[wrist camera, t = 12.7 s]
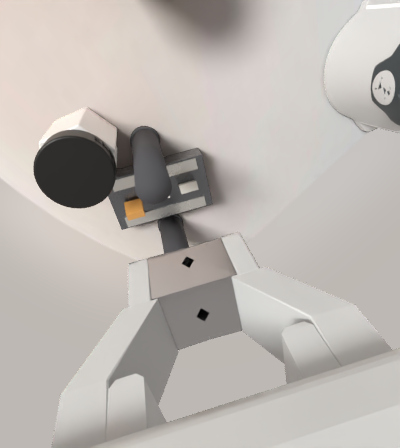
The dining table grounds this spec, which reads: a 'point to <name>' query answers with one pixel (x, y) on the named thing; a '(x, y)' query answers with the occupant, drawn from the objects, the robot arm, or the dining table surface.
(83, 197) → the jar
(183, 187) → the white block
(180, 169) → the breaker panel
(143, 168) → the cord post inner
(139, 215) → the tripped paddle
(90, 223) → the dining table surface
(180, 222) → the cord post outer
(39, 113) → the dining table surface
